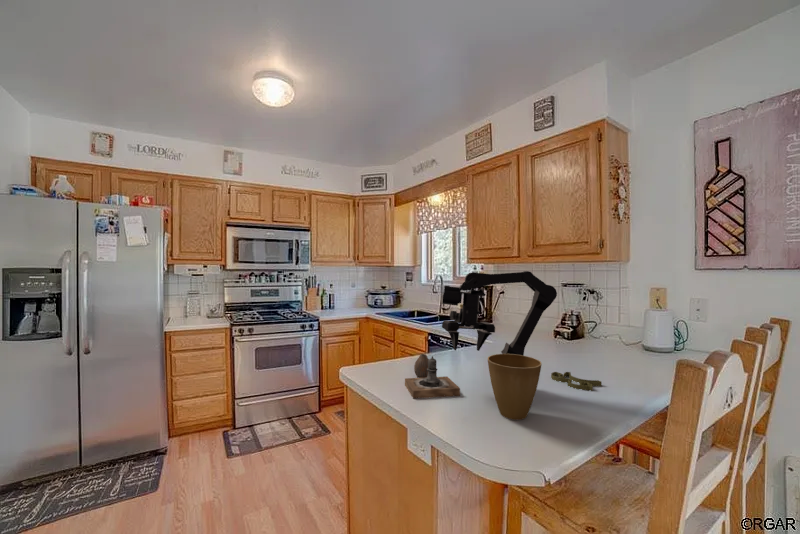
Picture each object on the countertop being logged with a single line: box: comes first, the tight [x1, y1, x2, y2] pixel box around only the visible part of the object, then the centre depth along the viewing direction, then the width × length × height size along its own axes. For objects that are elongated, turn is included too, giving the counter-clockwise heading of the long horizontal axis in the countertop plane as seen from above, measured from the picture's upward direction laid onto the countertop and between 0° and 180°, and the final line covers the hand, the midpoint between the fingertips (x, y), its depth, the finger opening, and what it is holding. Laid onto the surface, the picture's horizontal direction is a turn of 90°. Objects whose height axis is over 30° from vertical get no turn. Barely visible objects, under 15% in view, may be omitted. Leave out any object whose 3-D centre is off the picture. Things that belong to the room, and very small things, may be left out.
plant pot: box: [487, 353, 543, 421], centre depth 102 cm, size 15×15×16 cm
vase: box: [413, 353, 430, 378], centre depth 136 cm, size 7×7×9 cm
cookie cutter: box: [550, 371, 603, 392], centre depth 132 cm, size 18×12×2 cm, turn 29°
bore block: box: [404, 376, 461, 399], centre depth 121 cm, size 16×13×2 cm
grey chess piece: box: [424, 355, 441, 387], centre depth 121 cm, size 6×6×12 cm
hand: (466, 350), depth 126 cm, fingers open, 9 cm apart
